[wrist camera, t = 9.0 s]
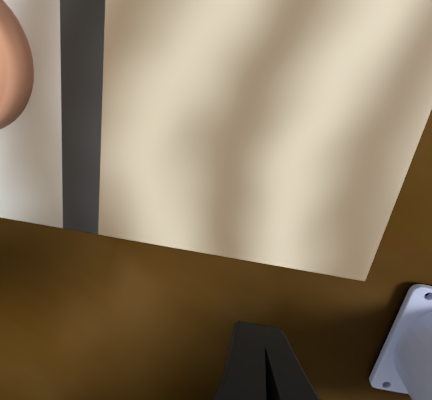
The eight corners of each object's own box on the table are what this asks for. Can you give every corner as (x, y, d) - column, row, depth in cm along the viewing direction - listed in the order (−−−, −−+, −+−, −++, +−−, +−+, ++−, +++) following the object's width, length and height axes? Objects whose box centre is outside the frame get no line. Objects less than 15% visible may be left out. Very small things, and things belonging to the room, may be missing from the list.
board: (483, -63, 13) (501, -73, 12) (358, 271, 19) (364, 281, 18) (-263, -186, 13) (-301, -206, 12) (-162, 180, 19) (-182, 185, 18)
